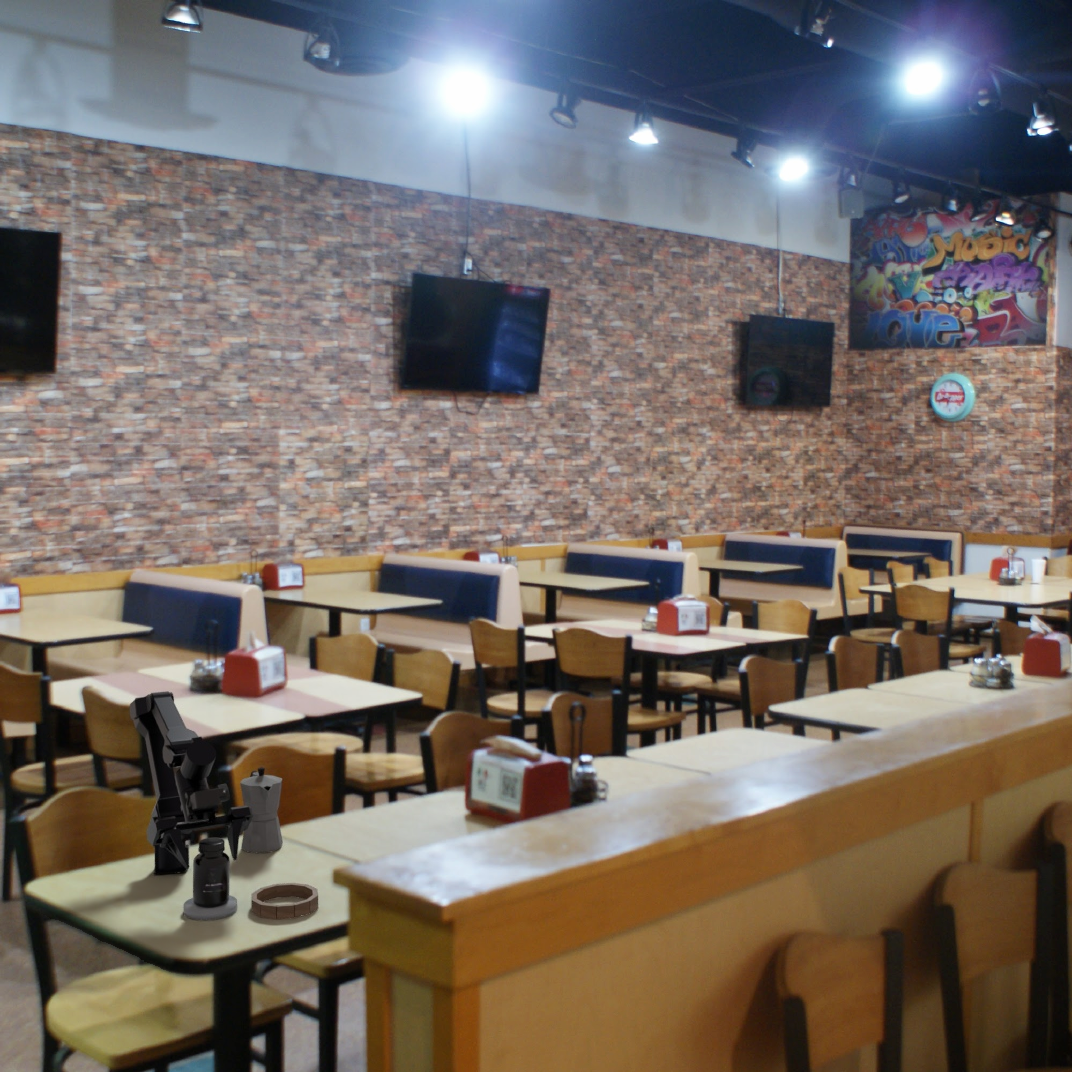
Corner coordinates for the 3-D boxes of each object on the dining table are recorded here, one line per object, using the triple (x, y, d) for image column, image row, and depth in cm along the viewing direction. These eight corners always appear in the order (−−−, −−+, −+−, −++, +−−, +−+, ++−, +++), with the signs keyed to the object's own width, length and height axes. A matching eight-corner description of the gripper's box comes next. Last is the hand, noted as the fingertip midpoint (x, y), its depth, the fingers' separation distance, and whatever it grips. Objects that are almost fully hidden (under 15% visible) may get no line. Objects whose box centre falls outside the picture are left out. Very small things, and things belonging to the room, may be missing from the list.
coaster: (182, 922, 234) (181, 914, 234) (184, 903, 244) (184, 895, 244) (236, 918, 236) (236, 910, 236) (237, 899, 246) (237, 892, 246)
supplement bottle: (210, 911, 236) (210, 848, 235) (185, 904, 239) (184, 842, 238) (237, 900, 241) (237, 839, 241) (212, 893, 245) (211, 833, 244)
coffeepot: (290, 852, 275) (289, 772, 274) (247, 858, 271) (246, 776, 270) (273, 833, 289) (273, 756, 287) (232, 838, 285) (231, 760, 283)
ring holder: (251, 921, 235) (251, 908, 234) (251, 898, 247) (251, 885, 247) (319, 916, 237) (319, 903, 237) (316, 893, 250) (316, 881, 249)
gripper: (153, 777, 237) (170, 850, 228) (249, 765, 246) (269, 834, 238) (143, 808, 244) (159, 880, 235) (237, 794, 254) (255, 863, 245)
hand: (212, 863), depth 238 cm, fingers open, 9 cm apart
